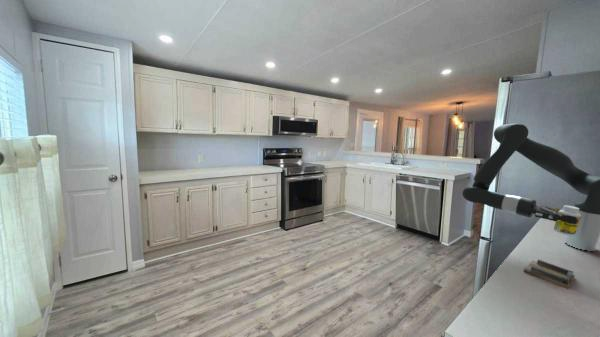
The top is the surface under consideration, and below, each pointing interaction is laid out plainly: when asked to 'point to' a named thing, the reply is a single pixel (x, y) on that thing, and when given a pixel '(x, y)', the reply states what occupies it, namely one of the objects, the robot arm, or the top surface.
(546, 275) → the notched cradle board
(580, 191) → the robot arm
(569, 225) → the supplement bottle
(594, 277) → the top surface
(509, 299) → the top surface
